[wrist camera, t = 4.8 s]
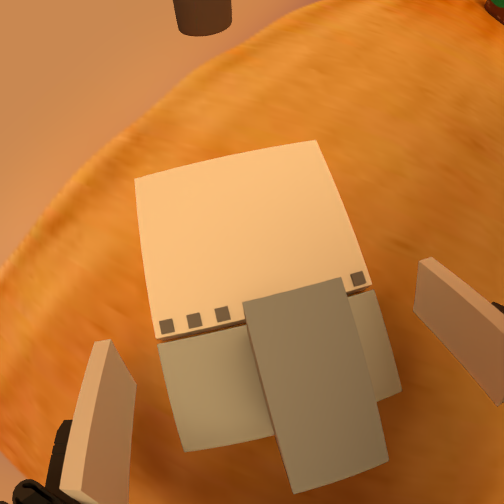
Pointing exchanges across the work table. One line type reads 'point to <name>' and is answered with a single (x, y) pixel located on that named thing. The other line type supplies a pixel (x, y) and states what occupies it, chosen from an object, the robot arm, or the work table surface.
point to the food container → (496, 9)
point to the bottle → (202, 16)
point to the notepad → (241, 235)
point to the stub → (290, 382)
